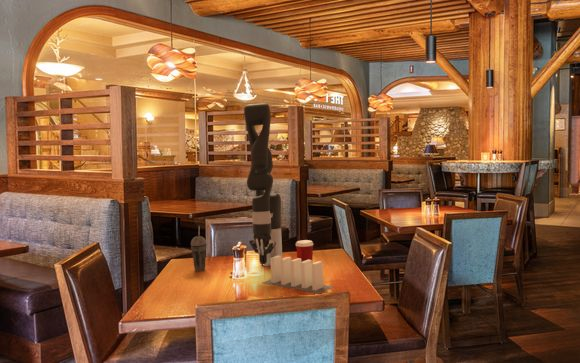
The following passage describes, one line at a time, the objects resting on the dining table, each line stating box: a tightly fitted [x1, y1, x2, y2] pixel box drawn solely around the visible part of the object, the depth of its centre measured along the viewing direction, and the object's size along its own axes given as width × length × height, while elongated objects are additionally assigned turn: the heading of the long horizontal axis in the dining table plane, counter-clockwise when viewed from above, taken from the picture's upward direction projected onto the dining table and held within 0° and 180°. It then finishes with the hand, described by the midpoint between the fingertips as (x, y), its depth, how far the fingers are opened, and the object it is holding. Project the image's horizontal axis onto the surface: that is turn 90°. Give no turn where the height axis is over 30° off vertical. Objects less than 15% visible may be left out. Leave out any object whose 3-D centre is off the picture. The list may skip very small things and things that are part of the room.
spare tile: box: [290, 257, 302, 287], centre depth 200 cm, size 2×5×10 cm, turn 143°
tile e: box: [312, 260, 324, 290], centre depth 194 cm, size 2×5×10 cm, turn 143°
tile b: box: [280, 256, 292, 285], centre depth 203 cm, size 2×5×10 cm, turn 143°
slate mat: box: [261, 279, 334, 294], centre depth 200 cm, size 28×10×1 cm, turn 53°
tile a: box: [270, 256, 281, 283], centre depth 206 cm, size 2×5×10 cm, turn 143°
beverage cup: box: [190, 225, 208, 272], centre depth 231 cm, size 7×7×20 cm
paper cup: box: [295, 239, 314, 262], centre depth 218 cm, size 8×8×14 cm
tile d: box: [301, 259, 313, 288], centre depth 197 cm, size 2×5×10 cm, turn 143°
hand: (263, 263), depth 210 cm, fingers closed
